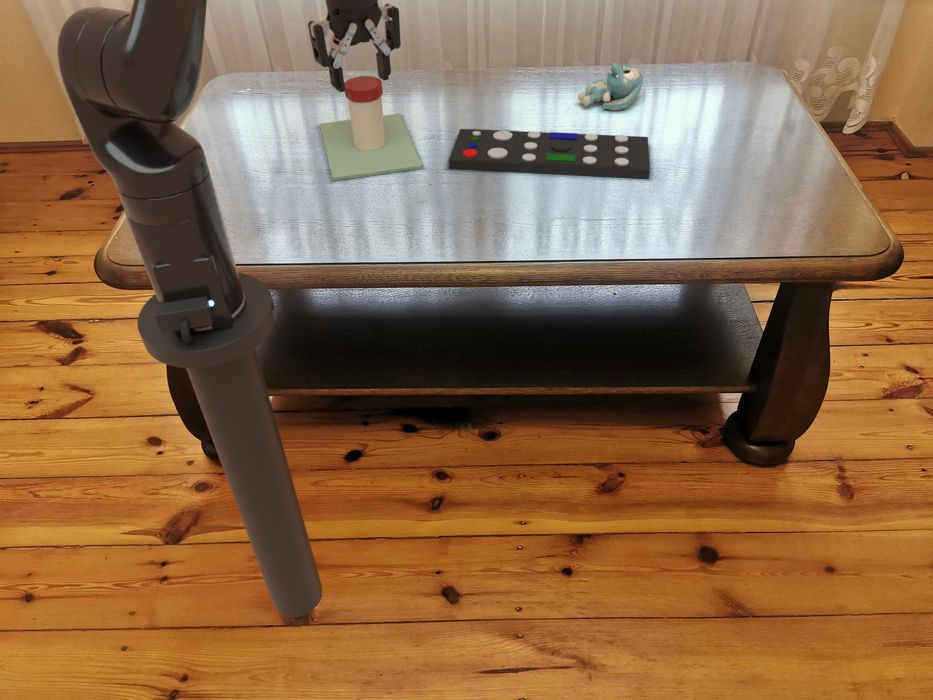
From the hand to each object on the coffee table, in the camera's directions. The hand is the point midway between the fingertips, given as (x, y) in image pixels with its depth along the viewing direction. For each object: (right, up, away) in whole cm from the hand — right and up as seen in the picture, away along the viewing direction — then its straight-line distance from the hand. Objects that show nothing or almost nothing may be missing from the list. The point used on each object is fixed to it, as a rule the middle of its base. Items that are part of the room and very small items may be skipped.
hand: (362, 84), depth 116 cm
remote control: (+29, -11, +3) cm, 31 cm away
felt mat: (0, -8, +7) cm, 10 cm away
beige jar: (0, -7, +6) cm, 10 cm away
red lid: (0, 0, 0) cm, 0 cm away
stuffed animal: (+42, +3, +18) cm, 45 cm away
